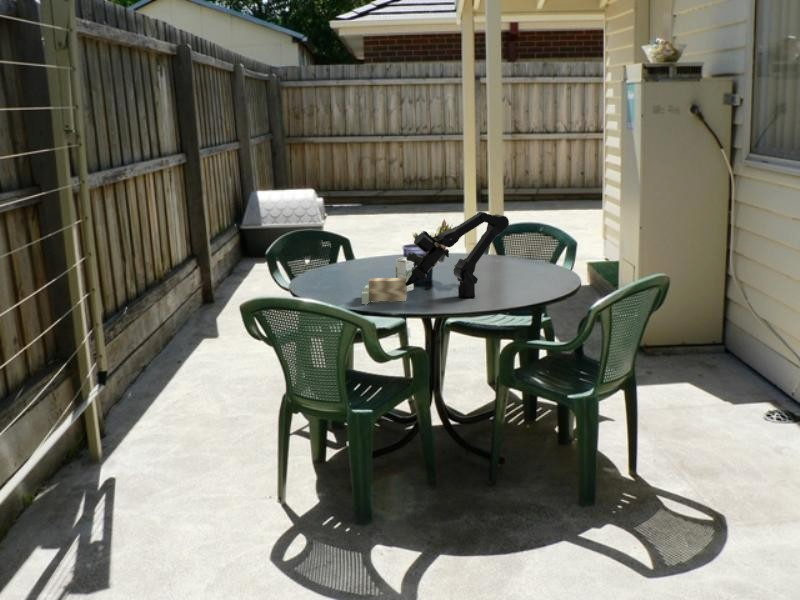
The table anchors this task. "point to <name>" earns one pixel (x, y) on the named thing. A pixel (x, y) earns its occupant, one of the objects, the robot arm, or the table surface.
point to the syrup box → (404, 271)
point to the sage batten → (365, 295)
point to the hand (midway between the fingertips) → (406, 285)
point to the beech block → (387, 289)
